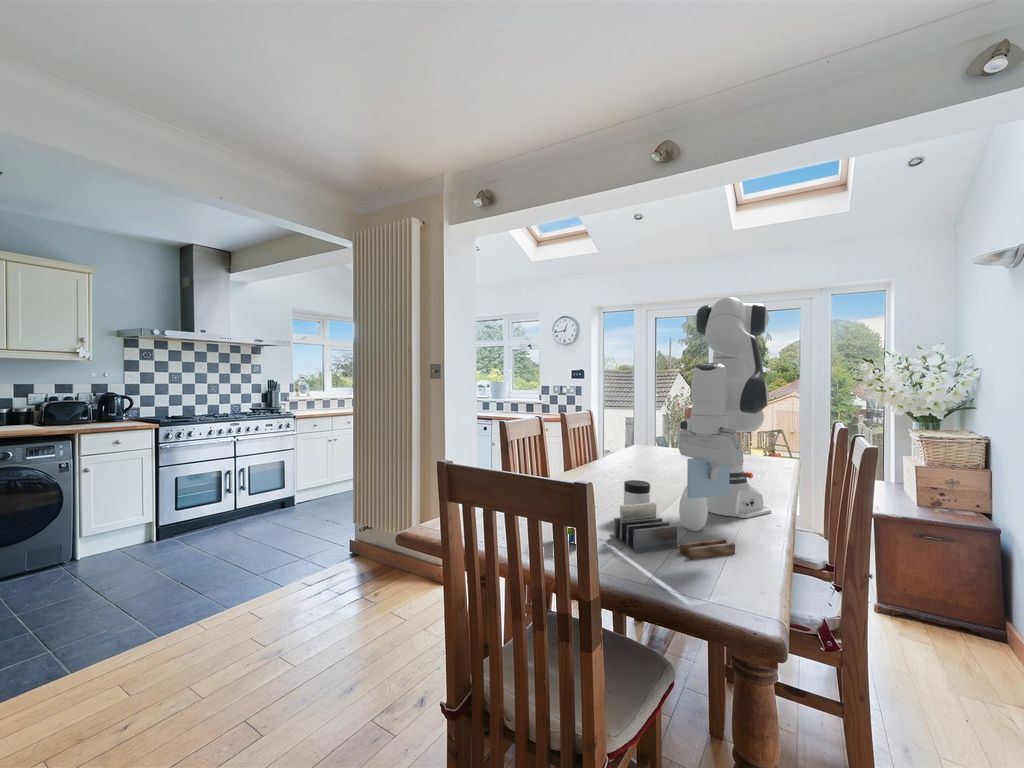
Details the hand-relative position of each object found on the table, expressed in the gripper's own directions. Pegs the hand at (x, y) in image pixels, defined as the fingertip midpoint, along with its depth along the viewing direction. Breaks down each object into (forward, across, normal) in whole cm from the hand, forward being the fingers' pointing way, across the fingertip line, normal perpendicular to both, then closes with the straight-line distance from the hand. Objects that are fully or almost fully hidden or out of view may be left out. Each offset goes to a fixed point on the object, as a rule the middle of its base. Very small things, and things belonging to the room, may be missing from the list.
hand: (708, 478), depth 120 cm
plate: (+5, 0, 0) cm, 5 cm away
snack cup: (+20, +20, +28) cm, 40 cm away
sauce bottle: (+21, +17, -9) cm, 28 cm away
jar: (+21, +32, +1) cm, 38 cm away
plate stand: (+20, 0, 0) cm, 20 cm away
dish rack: (+20, +12, +11) cm, 26 cm away
